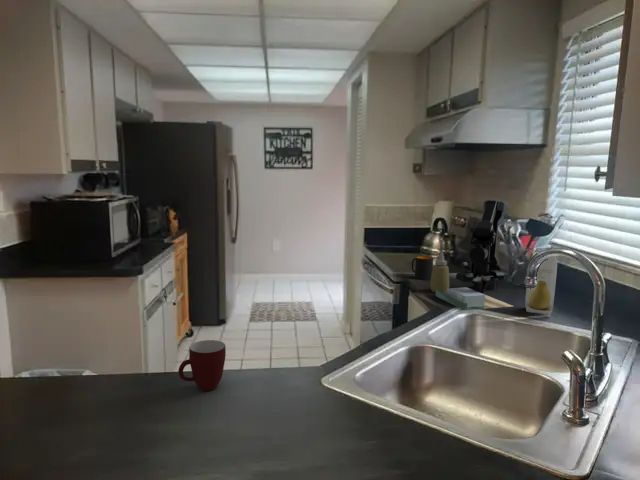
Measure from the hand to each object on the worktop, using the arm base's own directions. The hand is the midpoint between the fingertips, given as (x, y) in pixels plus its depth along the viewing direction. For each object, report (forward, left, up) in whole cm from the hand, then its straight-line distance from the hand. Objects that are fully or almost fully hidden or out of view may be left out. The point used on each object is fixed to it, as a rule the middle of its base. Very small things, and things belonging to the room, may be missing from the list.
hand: (478, 297), depth 184 cm
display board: (+2, 0, -3) cm, 4 cm away
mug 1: (+109, +48, -3) cm, 119 cm away
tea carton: (+6, 0, -2) cm, 6 cm away
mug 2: (-1, -47, -3) cm, 47 cm away
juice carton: (-14, +17, -3) cm, 22 cm away
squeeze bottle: (+7, -17, -3) cm, 19 cm away
